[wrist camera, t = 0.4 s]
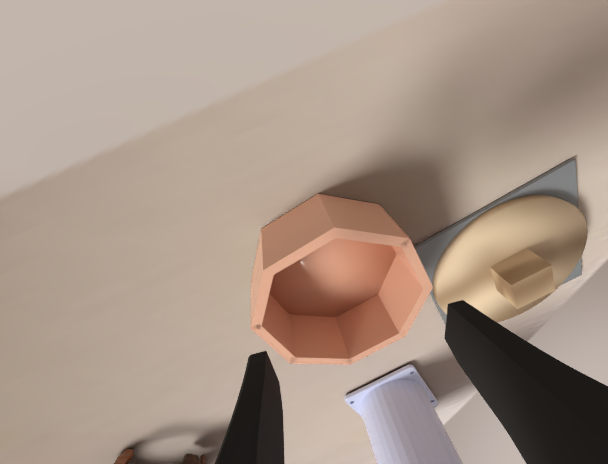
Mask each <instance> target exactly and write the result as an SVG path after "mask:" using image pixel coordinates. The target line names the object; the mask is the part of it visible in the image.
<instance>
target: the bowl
mask: <svg viewBox="0 0 608 464" xmlns="http://www.w3.org/2000/svg"><path fill="white" fill-rule="evenodd" d="M432 289H433V286H432V284H431V281H430V279H429V277H428V275H427V273H426V271H425V269H424V267H423V265H422V263H421V261H420V259H419V256H418V254H417V252H416V250H415V248H414V246H413V244H412V242H411V240H410V238H409V237H408V236H407V235H406V234H405V232H404V231H403V230H402V229H401V228H400V227H399V226H398V225H397V224H396V222H395V221H394V220H393V219H392V218H391V217H390V216H389V215H388V214H387V212H386V211H385V210H384V209H383V208H382V207H381V206H380V205H379V204H375V203H369V202H363V201H357V200H351V199H346V198H340V197H334V196H328V195H323V194H316V195H315V196H313V197H312V198H310V199H308V200H307V201H305V202H304V203H302V204H300V205H299V206H297V207H296V208H294V209H292V210H291V211H289V212H288V213H286V214H284V215H283V216H281V217H280V218H278V219H276V220H275V221H273V222H272V223H270V224H268V225H267V226H265V227H264V228H262V229H261V233H260V238H259V243H258V249H257V254H256V259H255V264H254V269H253V274H252V280H251V329H252V330H253V331H254V332H255V333H256V334H258V335H259V336H260V337H261V338H262V339H263V340H264V341H266V342H267V343H268V344H269V345H270V346H271V347H272V348H273V349H275V350H276V351H277V352H278V353H279V354H280V355H281V356H282V357H284V358H285V359H286V360H287V361H288V362H289V363H299V364H346V365H350V364H352V363H354V362H356V361H358V360H360V359H362V358H364V357H366V356H368V355H370V354H372V353H374V352H376V351H378V350H379V349H381V348H383V347H385V346H387V345H389V344H391V343H393V342H395V341H397V340H399V339H401V338H403V337H405V336H406V334H407V332H408V331H409V329H410V327H411V325H412V324H413V322H414V320H415V318H416V317H417V315H418V313H419V311H420V310H421V308H422V306H423V304H424V303H425V301H426V299H427V297H428V296H429V294H430V292H431V290H432Z"/></svg>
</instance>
